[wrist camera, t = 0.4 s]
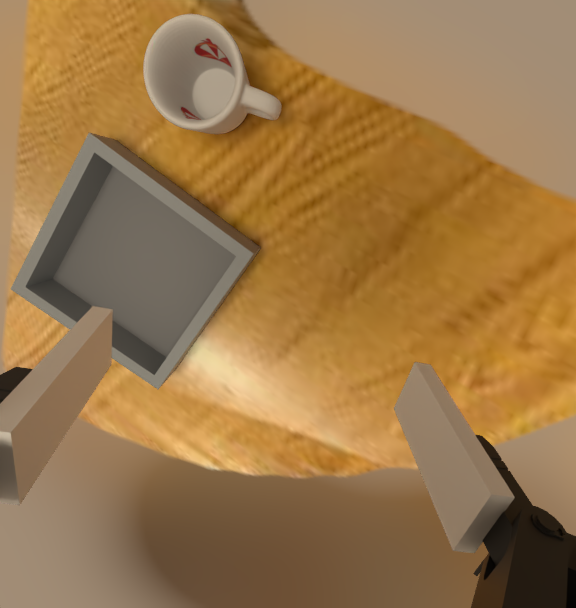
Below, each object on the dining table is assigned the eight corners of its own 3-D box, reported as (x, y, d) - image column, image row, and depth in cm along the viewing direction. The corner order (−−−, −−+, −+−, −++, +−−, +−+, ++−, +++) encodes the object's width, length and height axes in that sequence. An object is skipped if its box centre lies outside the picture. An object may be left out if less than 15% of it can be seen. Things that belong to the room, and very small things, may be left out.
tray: (115, 139, 39) (89, 132, 34) (261, 247, 40) (253, 253, 36) (41, 280, 44) (10, 289, 39) (173, 371, 45) (158, 389, 41)
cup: (299, 77, 36) (291, 44, 28) (273, 163, 38) (260, 154, 30) (190, 40, 36) (153, -3, 28) (171, 128, 38) (132, 110, 30)
